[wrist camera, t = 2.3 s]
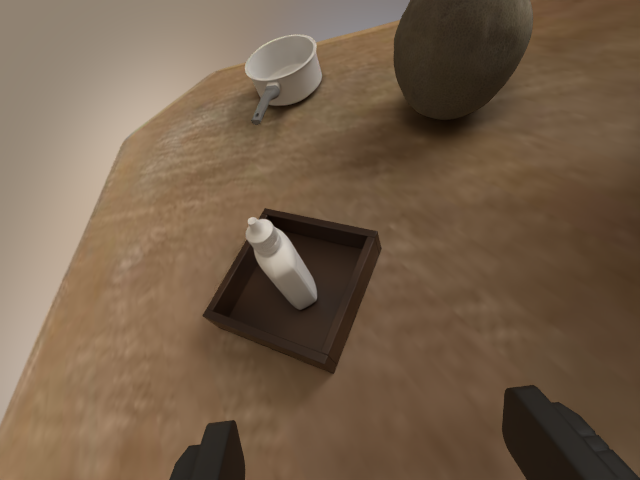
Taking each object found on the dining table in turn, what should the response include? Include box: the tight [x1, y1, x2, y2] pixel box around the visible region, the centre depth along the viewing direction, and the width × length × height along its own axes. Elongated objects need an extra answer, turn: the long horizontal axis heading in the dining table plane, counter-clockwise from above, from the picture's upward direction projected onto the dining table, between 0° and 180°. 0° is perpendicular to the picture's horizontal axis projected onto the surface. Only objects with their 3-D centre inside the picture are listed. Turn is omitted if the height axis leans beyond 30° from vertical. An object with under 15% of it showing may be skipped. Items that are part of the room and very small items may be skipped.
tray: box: [203, 208, 381, 374], centre depth 36 cm, size 14×14×3 cm
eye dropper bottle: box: [246, 217, 317, 310], centre depth 33 cm, size 4×6×12 cm
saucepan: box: [245, 35, 322, 125], centre depth 54 cm, size 12×20×6 cm, turn 170°
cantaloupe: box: [394, 0, 533, 120], centre depth 40 cm, size 14×14×15 cm
